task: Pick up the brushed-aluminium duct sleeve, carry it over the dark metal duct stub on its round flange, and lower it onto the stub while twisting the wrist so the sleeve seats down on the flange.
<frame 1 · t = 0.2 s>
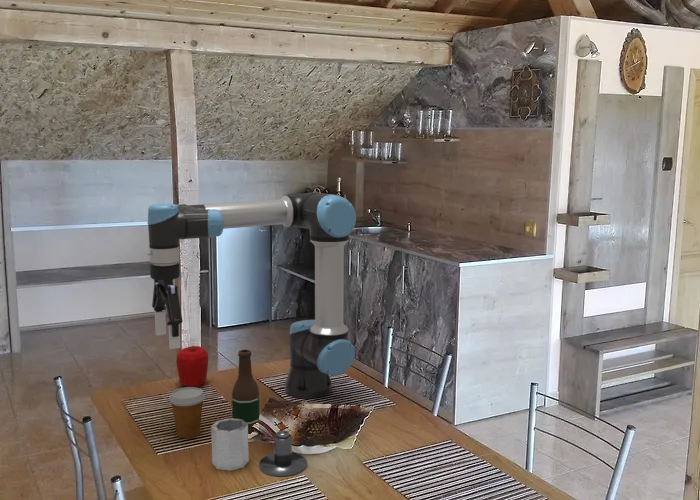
hand: (167, 341, 188), 28 cm above the table, fingers open, 13 cm apart
duct sleeve: (230, 462, 179), on the table
apple: (193, 385, 233), on the table
duct stub: (283, 465, 178), on the table
beer bottle: (246, 434, 196), on the table
disposable coffee cup: (188, 434, 196), on the table
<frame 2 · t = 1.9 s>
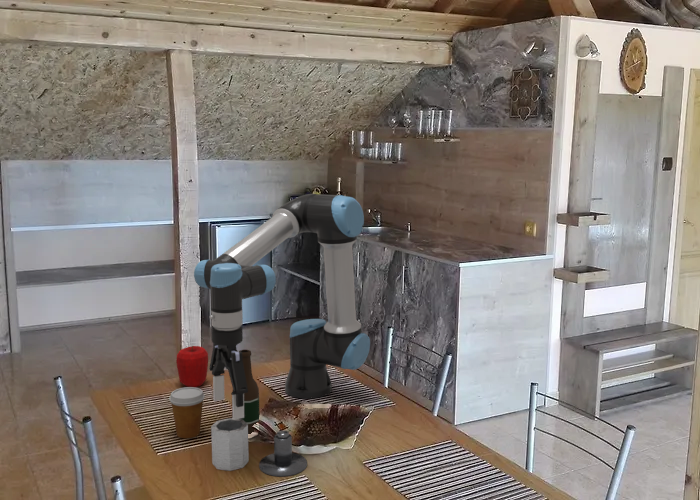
hand: (228, 409, 177), 14 cm above the table, fingers open, 13 cm apart
nothing on the table moved.
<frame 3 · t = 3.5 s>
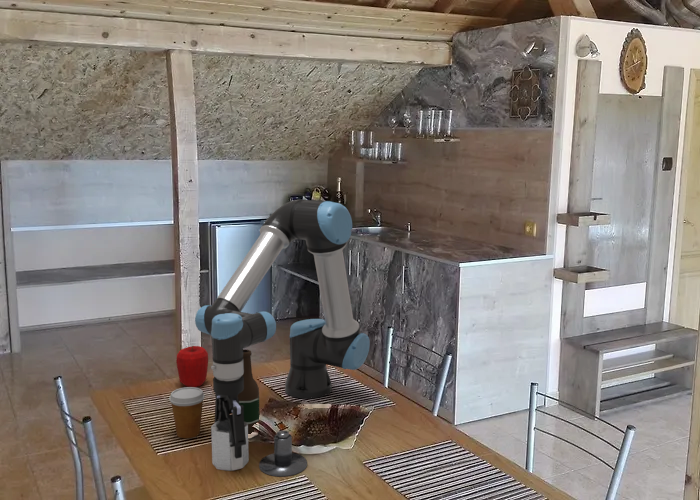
hand: (230, 461, 179), 0 cm above the table, fingers closed on duct sleeve, 8 cm apart
duct sleeve: (230, 462, 179), on the table, touching gripper
everything else where it was.
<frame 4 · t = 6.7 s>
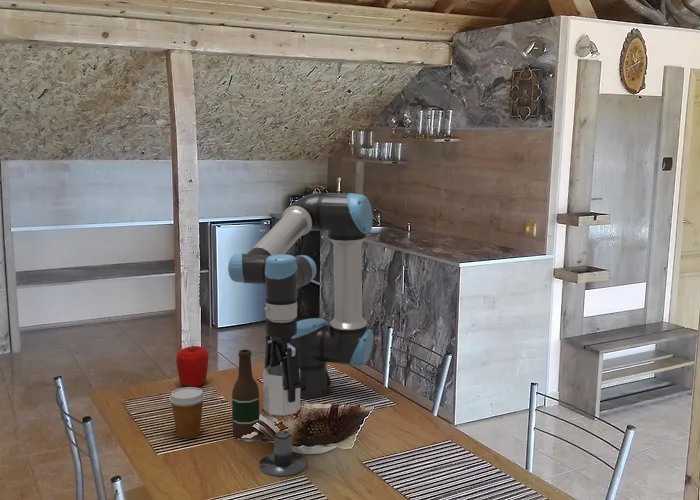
hand: (282, 407, 175), 16 cm above the table, fingers closed on duct sleeve, 8 cm apart
duct sleeve: (282, 408, 175), point 15 cm above the table, touching gripper
everything else where it was.
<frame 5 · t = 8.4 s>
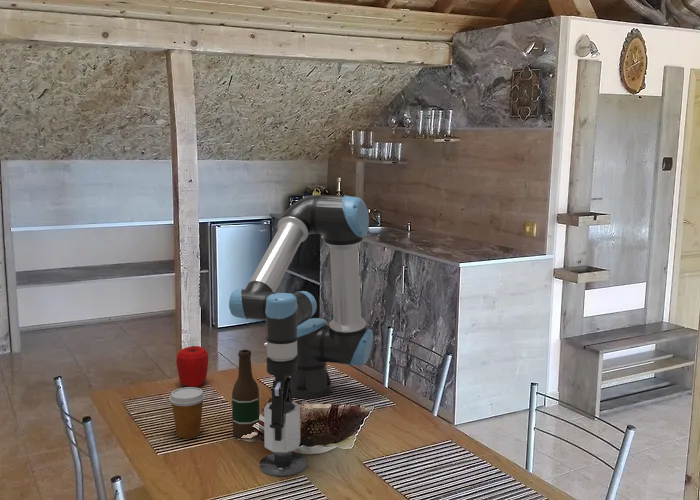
hand: (282, 443, 177), 6 cm above the table, fingers closed on duct sleeve, 8 cm apart
duct sleeve: (282, 444, 177), point 6 cm above the table, touching gripper
everything else where it was.
when the fingers open (2 cm above the table, at t = 10.0 s): duct sleeve drops 1 cm, resting on duct stub.
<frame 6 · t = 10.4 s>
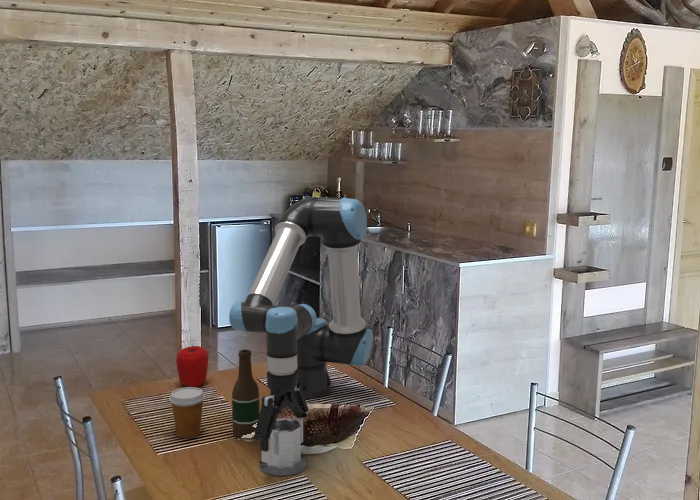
hand: (283, 451, 177), 4 cm above the table, fingers open, 13 cm apart
duct sleeve: (283, 462, 178), point 1 cm above the table, touching duct stub
everything else where it was.
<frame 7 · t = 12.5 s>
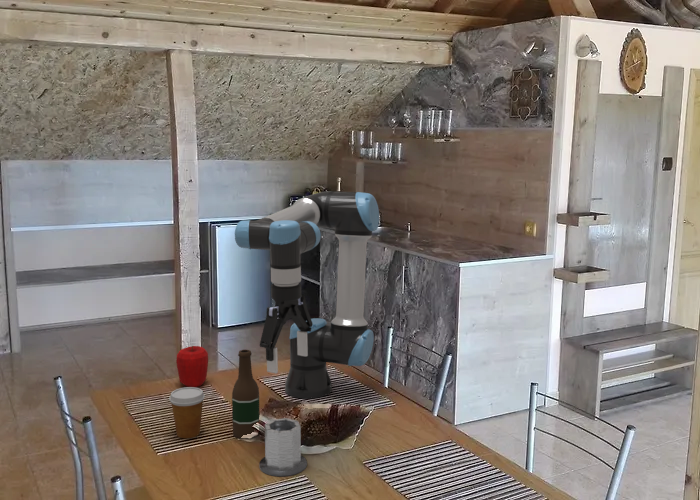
hand: (288, 363, 180), 25 cm above the table, fingers open, 13 cm apart
nothing on the table moved.
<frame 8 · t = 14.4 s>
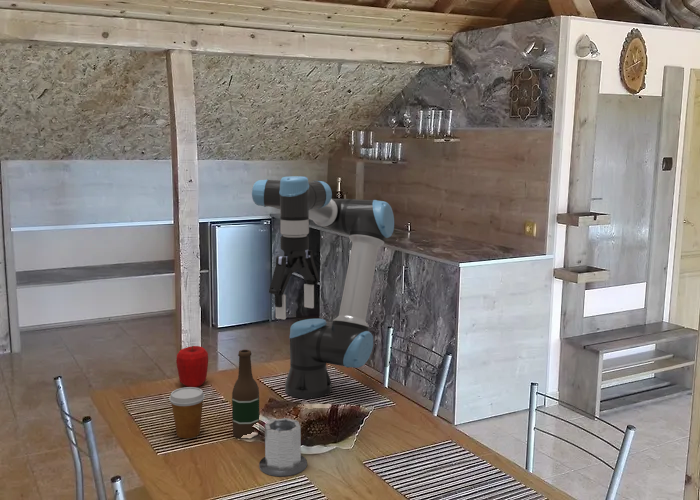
hand: (295, 313, 190), 35 cm above the table, fingers open, 13 cm apart
nothing on the table moved.
at the end: duct sleeve 0.1 cm off-centre on the duct stub, point 0.6 cm above the duct stub's base; duct sleeve tilted 0°; the gripper is holding nothing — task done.
